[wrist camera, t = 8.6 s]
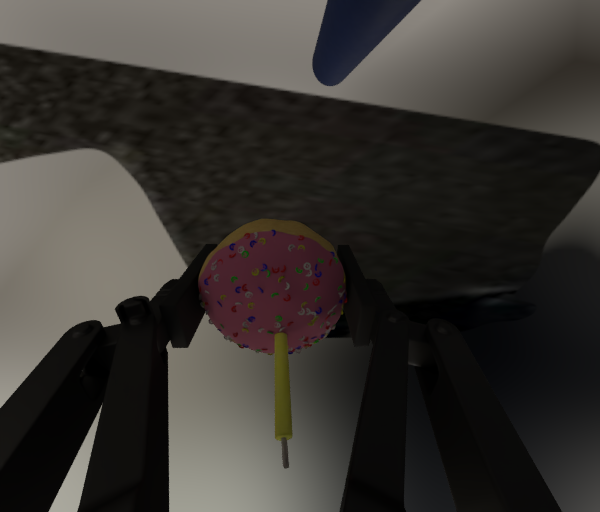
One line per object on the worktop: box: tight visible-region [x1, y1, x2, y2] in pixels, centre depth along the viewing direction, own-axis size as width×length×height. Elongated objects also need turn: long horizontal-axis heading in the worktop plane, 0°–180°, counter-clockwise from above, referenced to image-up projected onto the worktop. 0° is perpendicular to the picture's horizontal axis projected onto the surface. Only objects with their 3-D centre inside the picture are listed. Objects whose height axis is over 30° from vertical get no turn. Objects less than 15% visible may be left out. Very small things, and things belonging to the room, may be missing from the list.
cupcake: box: [198, 219, 347, 468], centre depth 12 cm, size 9×8×12 cm
